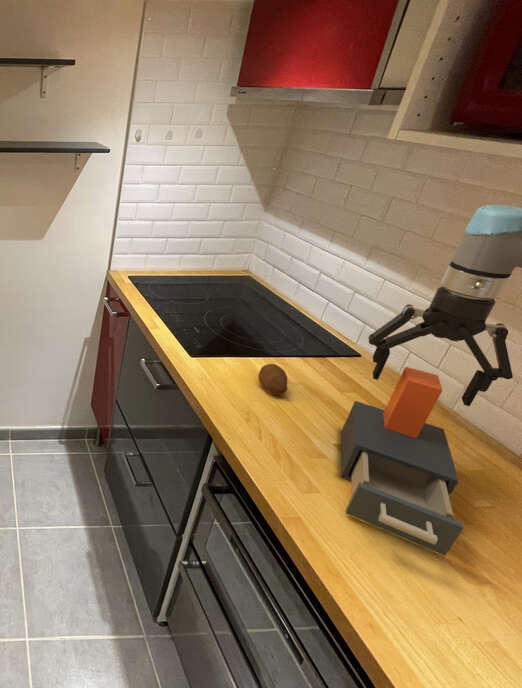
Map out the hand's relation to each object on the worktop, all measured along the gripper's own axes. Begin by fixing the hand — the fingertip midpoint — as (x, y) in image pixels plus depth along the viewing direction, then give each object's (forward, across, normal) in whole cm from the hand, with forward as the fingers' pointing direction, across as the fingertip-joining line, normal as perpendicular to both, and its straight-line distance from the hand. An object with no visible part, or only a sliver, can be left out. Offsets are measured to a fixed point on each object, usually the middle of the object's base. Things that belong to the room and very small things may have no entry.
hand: (418, 388), depth 89 cm
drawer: (+17, 0, -18) cm, 25 cm away
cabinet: (+18, 0, -4) cm, 19 cm away
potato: (+18, -23, +13) cm, 32 cm away
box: (+9, 0, 0) cm, 9 cm away
